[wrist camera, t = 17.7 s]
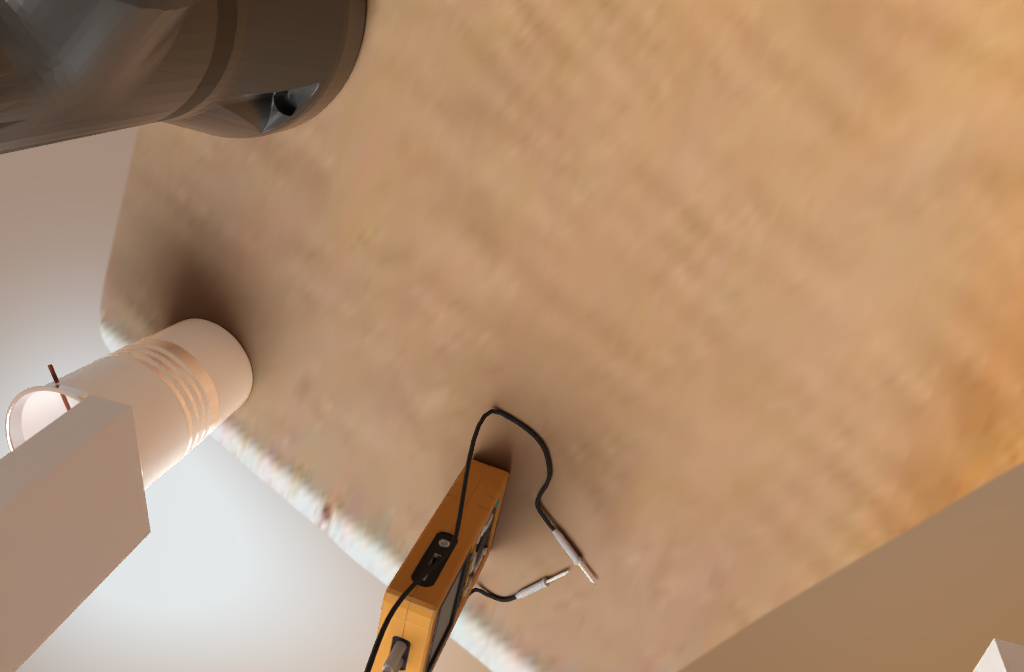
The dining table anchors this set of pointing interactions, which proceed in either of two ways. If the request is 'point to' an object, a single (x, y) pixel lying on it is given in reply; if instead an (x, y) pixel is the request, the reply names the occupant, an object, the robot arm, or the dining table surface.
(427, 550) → the multimeter
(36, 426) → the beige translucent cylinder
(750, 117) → the dining table surface
